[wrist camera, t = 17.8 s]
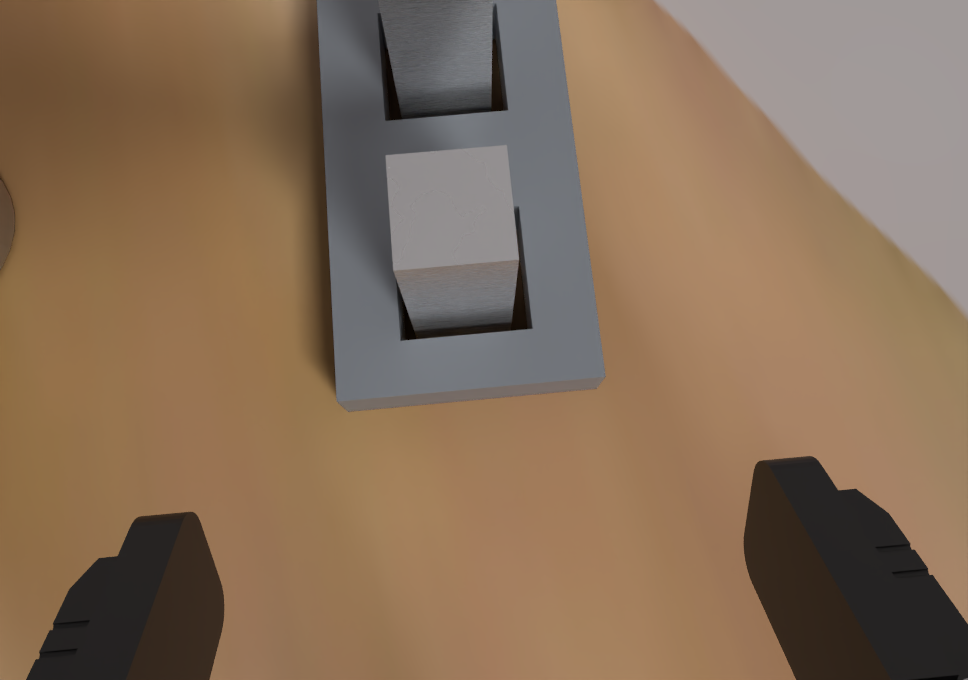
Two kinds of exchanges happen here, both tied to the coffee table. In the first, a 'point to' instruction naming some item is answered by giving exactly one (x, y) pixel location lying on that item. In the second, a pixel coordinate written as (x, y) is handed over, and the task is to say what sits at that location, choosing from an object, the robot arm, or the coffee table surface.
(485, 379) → the grey square hole board
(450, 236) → the block
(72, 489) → the coffee table surface
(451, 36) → the block
